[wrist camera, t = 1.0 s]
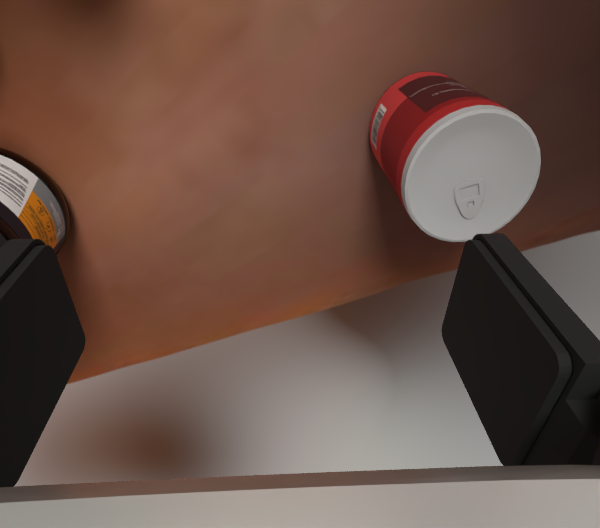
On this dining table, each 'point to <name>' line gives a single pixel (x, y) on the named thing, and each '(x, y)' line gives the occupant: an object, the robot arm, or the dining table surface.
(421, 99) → the canned food
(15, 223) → the supplement container
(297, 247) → the dining table surface
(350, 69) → the dining table surface
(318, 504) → the robot arm
